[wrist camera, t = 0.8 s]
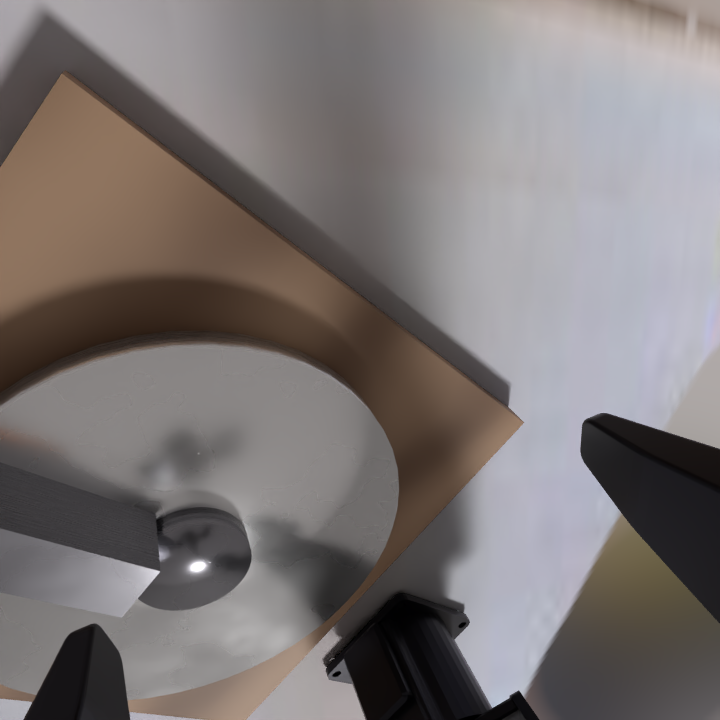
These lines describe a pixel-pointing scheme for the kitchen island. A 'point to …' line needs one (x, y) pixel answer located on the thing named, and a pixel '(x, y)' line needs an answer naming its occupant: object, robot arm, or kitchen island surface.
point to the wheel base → (212, 318)
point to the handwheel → (184, 505)
